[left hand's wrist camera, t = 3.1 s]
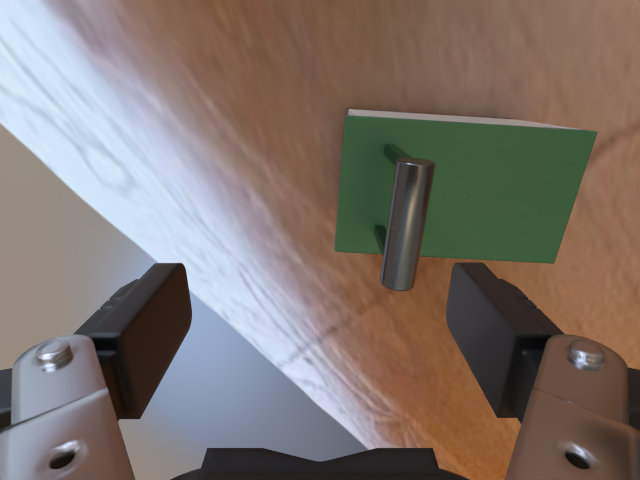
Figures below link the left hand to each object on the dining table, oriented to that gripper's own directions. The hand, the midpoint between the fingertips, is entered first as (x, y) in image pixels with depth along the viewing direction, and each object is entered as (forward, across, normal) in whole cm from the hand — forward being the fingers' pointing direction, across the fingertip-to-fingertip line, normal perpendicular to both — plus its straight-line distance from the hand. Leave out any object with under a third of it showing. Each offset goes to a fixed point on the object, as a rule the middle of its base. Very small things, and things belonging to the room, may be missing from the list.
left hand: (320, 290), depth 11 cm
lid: (+16, +9, -1) cm, 18 cm away
